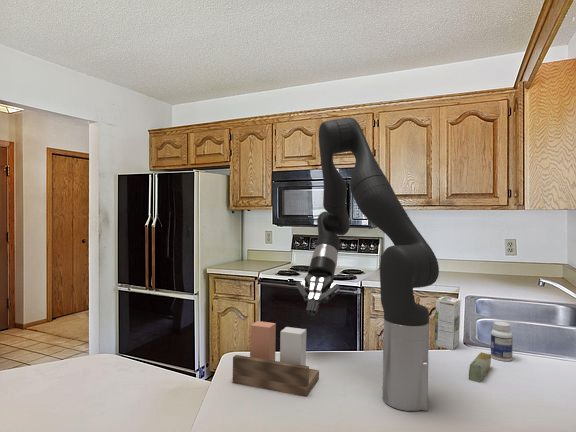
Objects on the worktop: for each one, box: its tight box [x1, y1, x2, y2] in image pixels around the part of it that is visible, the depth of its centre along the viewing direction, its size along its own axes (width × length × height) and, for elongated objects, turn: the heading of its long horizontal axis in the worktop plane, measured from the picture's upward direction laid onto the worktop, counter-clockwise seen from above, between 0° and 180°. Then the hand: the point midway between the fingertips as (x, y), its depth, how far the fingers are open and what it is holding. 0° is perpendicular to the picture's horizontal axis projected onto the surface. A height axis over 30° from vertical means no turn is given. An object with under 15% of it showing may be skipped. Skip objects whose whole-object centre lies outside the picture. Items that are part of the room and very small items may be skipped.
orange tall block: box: [249, 320, 277, 361], centre depth 95 cm, size 5×4×10 cm
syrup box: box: [433, 296, 462, 351], centre depth 119 cm, size 6×6×14 cm
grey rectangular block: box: [279, 326, 307, 366], centre depth 90 cm, size 5×4×10 cm
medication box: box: [468, 351, 492, 383], centre depth 98 cm, size 12×3×4 cm, turn 142°
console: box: [231, 354, 320, 397], centre depth 92 cm, size 18×10×6 cm, turn 70°
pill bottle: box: [490, 321, 514, 362], centre depth 109 cm, size 5×5×10 cm
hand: (311, 313), depth 104 cm, fingers closed
